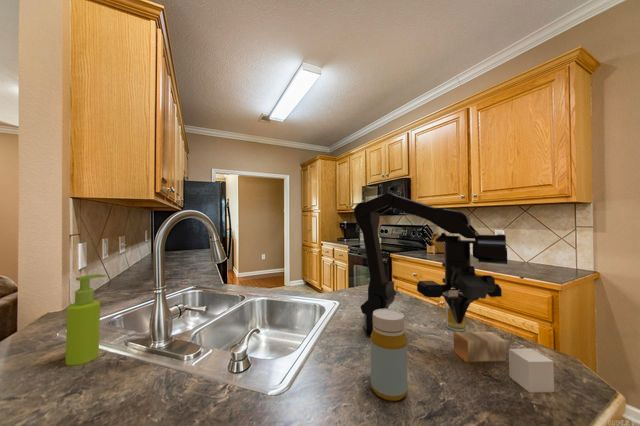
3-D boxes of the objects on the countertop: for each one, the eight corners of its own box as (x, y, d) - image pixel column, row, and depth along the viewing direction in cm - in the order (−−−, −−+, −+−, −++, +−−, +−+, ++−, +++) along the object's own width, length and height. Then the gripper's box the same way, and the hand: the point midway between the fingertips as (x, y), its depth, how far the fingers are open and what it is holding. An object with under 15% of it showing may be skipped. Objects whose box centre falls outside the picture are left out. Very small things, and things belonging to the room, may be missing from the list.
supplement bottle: (469, 331, 76) (468, 299, 76) (451, 331, 76) (450, 299, 76) (459, 324, 81) (459, 294, 82) (443, 324, 81) (442, 294, 82)
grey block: (529, 392, 49) (528, 361, 49) (509, 376, 54) (508, 348, 54) (554, 392, 49) (553, 361, 49) (531, 376, 54) (531, 348, 54)
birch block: (465, 340, 60) (505, 341, 60) (453, 331, 65) (490, 331, 65) (465, 362, 60) (505, 362, 60) (453, 351, 65) (490, 351, 65)
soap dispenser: (108, 353, 63) (110, 274, 64) (72, 368, 57) (75, 279, 58) (96, 348, 66) (98, 272, 66) (60, 362, 59) (63, 277, 60)
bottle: (407, 383, 52) (406, 310, 52) (407, 406, 45) (406, 323, 46) (373, 376, 54) (372, 306, 55) (368, 397, 48) (368, 318, 48)
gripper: (436, 266, 55) (437, 338, 54) (519, 265, 55) (521, 337, 55) (415, 258, 66) (416, 318, 65) (485, 258, 66) (486, 317, 66)
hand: (458, 323), depth 63 cm, fingers closed
